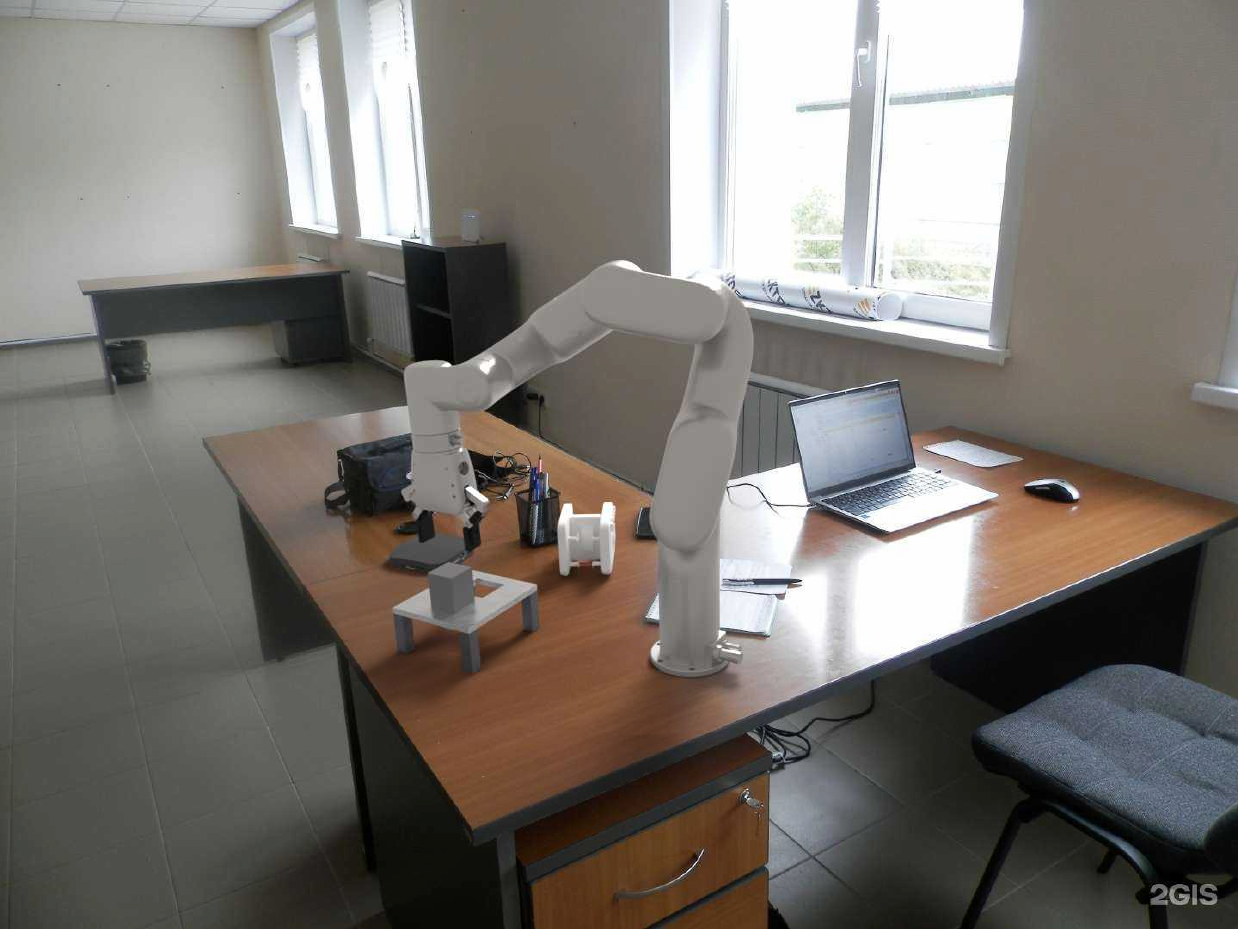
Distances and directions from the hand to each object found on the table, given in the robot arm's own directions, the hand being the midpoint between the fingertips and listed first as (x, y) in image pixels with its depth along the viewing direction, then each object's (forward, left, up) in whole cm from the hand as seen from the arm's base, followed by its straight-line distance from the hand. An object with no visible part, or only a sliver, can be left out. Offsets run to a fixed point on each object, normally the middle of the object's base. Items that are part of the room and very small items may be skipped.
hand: (450, 544), depth 143 cm
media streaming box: (+32, -28, -19) cm, 46 cm away
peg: (0, 0, -14) cm, 14 cm away
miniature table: (+1, -3, -19) cm, 19 cm away
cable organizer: (0, -39, -19) cm, 44 cm away
